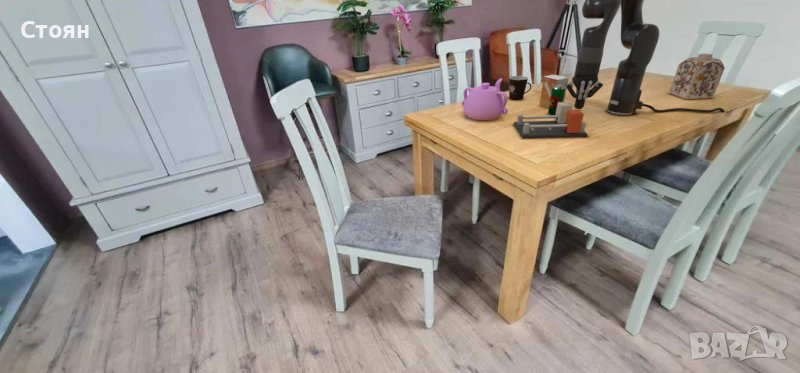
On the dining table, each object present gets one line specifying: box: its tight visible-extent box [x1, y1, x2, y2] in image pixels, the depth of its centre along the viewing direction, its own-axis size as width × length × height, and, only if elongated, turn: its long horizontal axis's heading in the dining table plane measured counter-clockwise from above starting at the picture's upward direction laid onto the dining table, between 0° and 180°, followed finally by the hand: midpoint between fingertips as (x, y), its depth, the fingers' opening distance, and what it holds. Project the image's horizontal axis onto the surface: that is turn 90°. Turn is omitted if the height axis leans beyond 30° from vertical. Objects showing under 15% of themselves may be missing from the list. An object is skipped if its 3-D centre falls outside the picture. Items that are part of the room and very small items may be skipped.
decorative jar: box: [668, 53, 726, 100], centre depth 148 cm, size 12×12×18 cm
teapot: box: [461, 77, 509, 121], centre depth 142 cm, size 22×22×14 cm
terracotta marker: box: [564, 109, 585, 133], centre depth 117 cm, size 4×4×7 cm
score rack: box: [513, 113, 588, 139], centre depth 124 cm, size 22×15×5 cm
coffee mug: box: [508, 75, 532, 102], centre depth 160 cm, size 12×9×10 cm
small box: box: [539, 74, 570, 109], centre depth 147 cm, size 8×6×13 cm
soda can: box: [547, 84, 567, 116], centre depth 138 cm, size 5×5×12 cm
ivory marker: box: [554, 101, 574, 124], centre depth 126 cm, size 4×4×7 cm
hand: (578, 108), depth 125 cm, fingers closed
